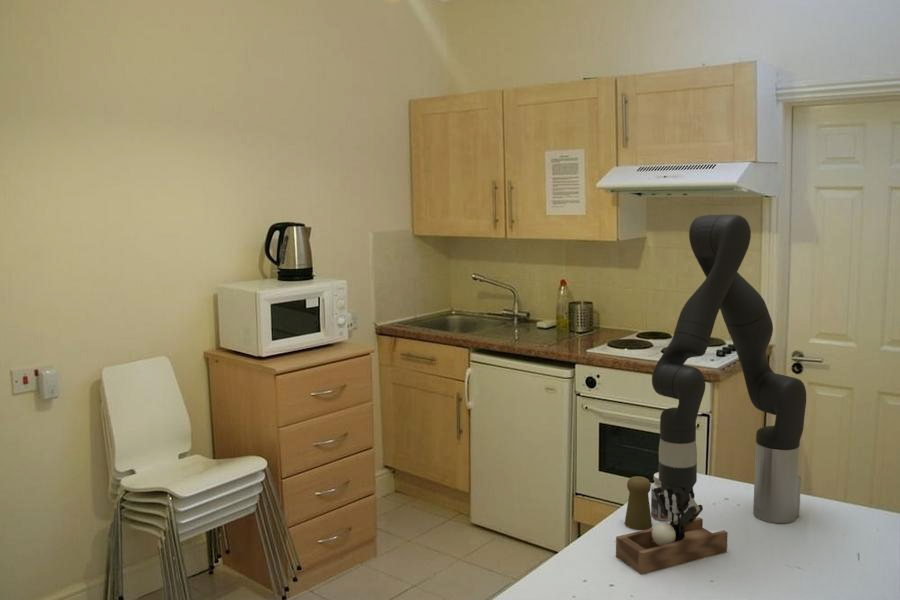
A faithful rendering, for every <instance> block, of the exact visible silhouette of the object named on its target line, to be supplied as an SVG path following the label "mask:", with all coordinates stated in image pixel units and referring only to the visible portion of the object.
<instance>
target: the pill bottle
mask: <svg viewBox="0 0 900 600" xmlns="http://www.w3.org/2000/svg"><path fill="white" fill-rule="evenodd" d="M653 481H654V482H653V483H652V484H651V489H650V492H651V493H650V494H651V495H650V496H651V497H650V499H651V500H650V502H651V504H650V513H651V518H653V519H655V520H658V521H661V522H667V521H668V522H670V521H669V520H668V516H667V515H666V516H664V515H663V513H662V510H661V508H660V505H659V503H658V501H657V498H656V496H655V493H654V488H657V487H660V486H661V482H660V480H659V471H658V472H655V473H654V474H653ZM665 507H666V504H665Z"/></svg>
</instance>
